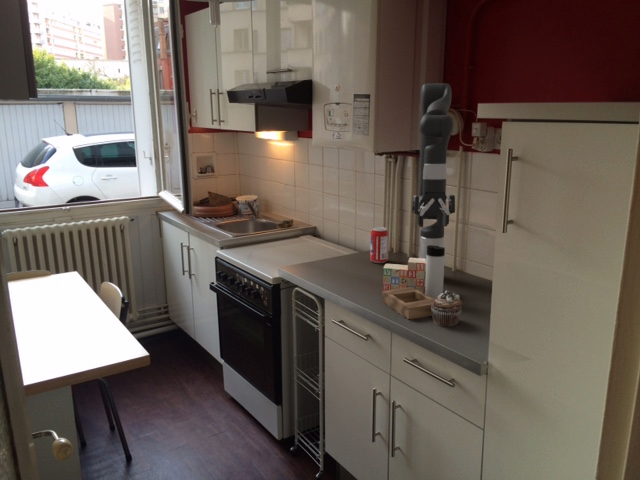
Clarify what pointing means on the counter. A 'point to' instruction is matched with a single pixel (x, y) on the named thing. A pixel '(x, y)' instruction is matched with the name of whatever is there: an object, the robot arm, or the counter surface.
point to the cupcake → (446, 309)
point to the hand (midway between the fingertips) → (432, 226)
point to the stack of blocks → (405, 275)
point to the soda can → (379, 245)
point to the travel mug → (434, 271)
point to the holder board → (408, 302)
